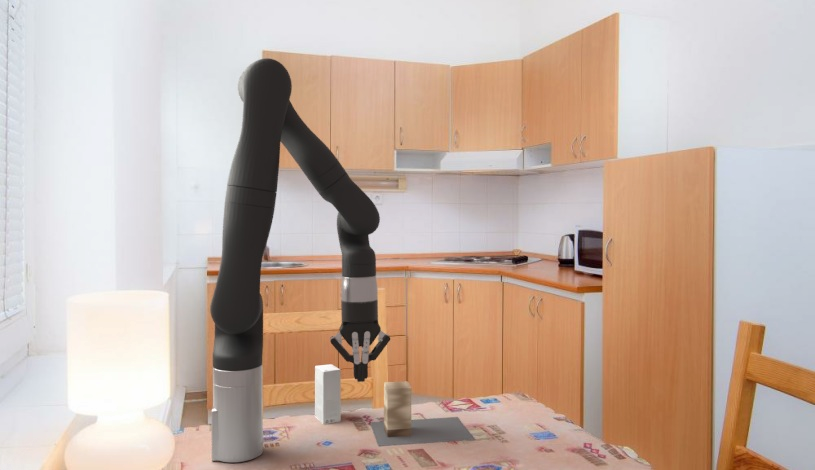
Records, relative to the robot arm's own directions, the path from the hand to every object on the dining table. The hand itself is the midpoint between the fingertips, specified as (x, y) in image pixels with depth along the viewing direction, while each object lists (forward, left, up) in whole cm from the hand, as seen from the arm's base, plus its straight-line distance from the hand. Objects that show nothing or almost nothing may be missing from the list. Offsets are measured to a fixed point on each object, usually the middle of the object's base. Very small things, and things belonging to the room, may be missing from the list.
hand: (360, 380), depth 127 cm
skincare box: (-6, +11, -12) cm, 17 cm away
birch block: (+8, 0, -11) cm, 14 cm away
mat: (+13, 0, -12) cm, 17 cm away
